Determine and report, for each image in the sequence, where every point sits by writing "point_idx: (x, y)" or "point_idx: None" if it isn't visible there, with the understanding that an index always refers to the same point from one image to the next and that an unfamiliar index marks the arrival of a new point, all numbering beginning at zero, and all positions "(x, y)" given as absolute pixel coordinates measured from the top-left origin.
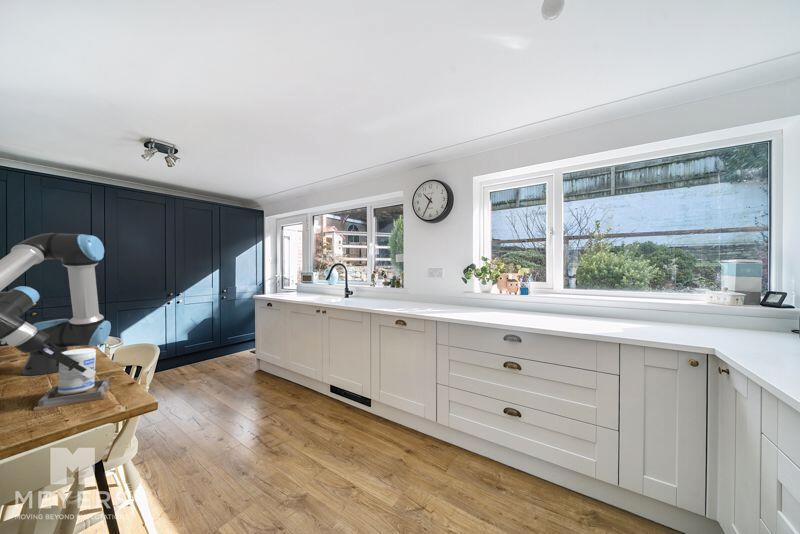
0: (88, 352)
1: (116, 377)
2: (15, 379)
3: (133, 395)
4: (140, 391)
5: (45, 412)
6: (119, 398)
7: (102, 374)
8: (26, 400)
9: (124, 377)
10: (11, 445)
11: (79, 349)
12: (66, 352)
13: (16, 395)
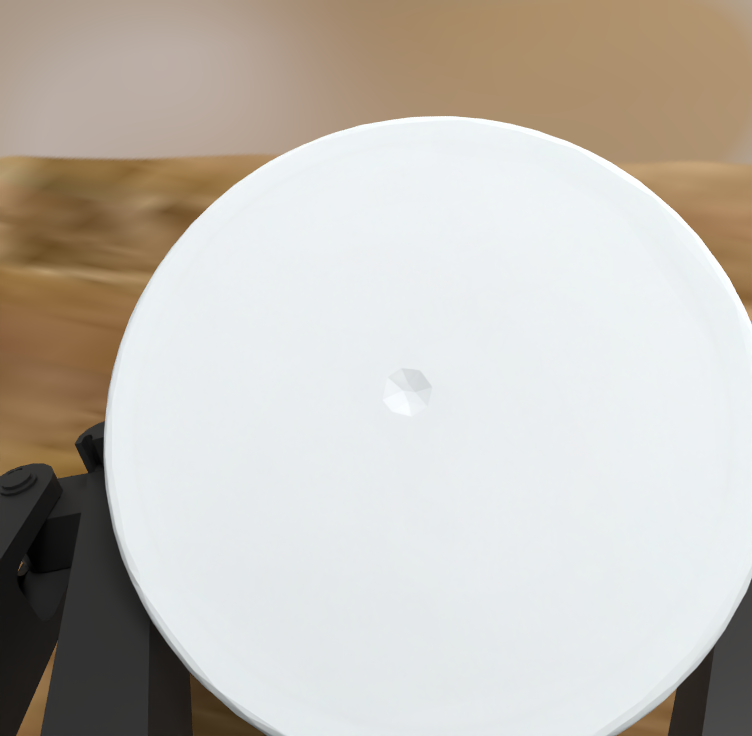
0: (717, 265)
1: (191, 197)
2: None
3: (746, 214)
4: (683, 166)
5: (672, 697)
6: (743, 289)
7: (36, 240)
8: (227, 709)
9: (238, 165)
10: None
11: (209, 336)
12: (356, 631)
13: (33, 723)
